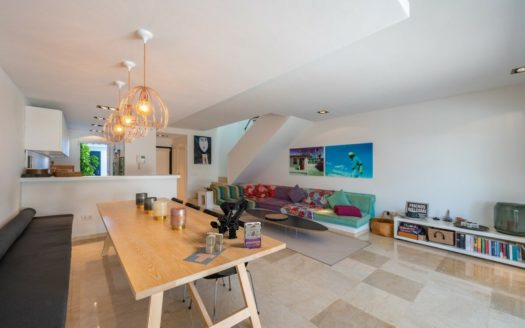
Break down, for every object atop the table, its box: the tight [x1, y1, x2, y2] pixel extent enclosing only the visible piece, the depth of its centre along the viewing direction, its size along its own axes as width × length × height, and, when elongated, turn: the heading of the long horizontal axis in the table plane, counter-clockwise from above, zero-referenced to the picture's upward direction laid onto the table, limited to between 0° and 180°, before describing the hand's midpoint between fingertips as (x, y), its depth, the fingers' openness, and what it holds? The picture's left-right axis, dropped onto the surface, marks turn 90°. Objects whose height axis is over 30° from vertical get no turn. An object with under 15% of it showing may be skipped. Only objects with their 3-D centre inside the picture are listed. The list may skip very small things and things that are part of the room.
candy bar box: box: [243, 221, 262, 249], centre depth 144 cm, size 11×5×16 cm, turn 105°
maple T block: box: [205, 232, 224, 254], centre depth 135 cm, size 9×10×10 cm
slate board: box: [182, 245, 227, 266], centre depth 130 cm, size 24×16×1 cm, turn 162°
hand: (219, 237), depth 143 cm, fingers closed
